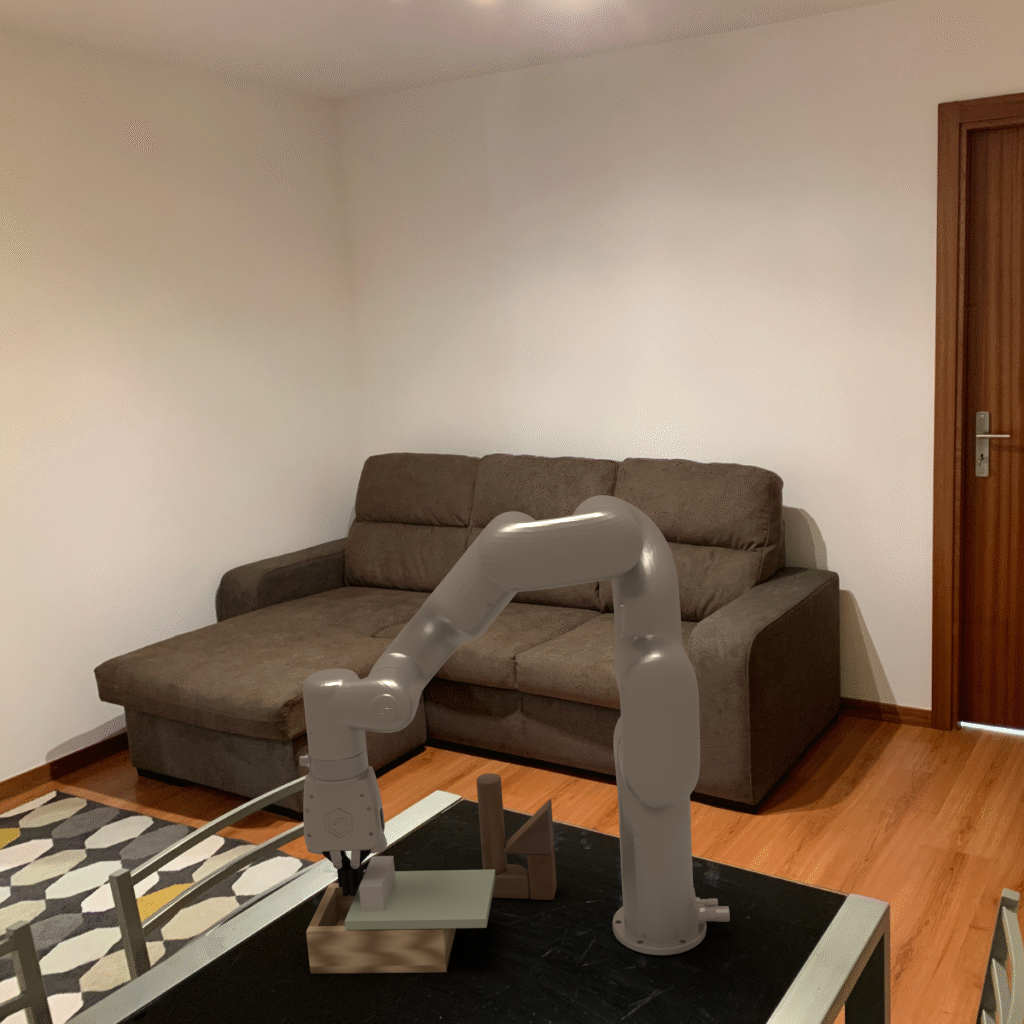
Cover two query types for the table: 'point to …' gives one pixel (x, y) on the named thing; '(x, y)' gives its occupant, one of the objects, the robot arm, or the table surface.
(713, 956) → the table surface
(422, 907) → the lid
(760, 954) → the table surface
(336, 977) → the table surface
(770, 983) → the table surface
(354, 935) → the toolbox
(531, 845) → the wooden pieces
